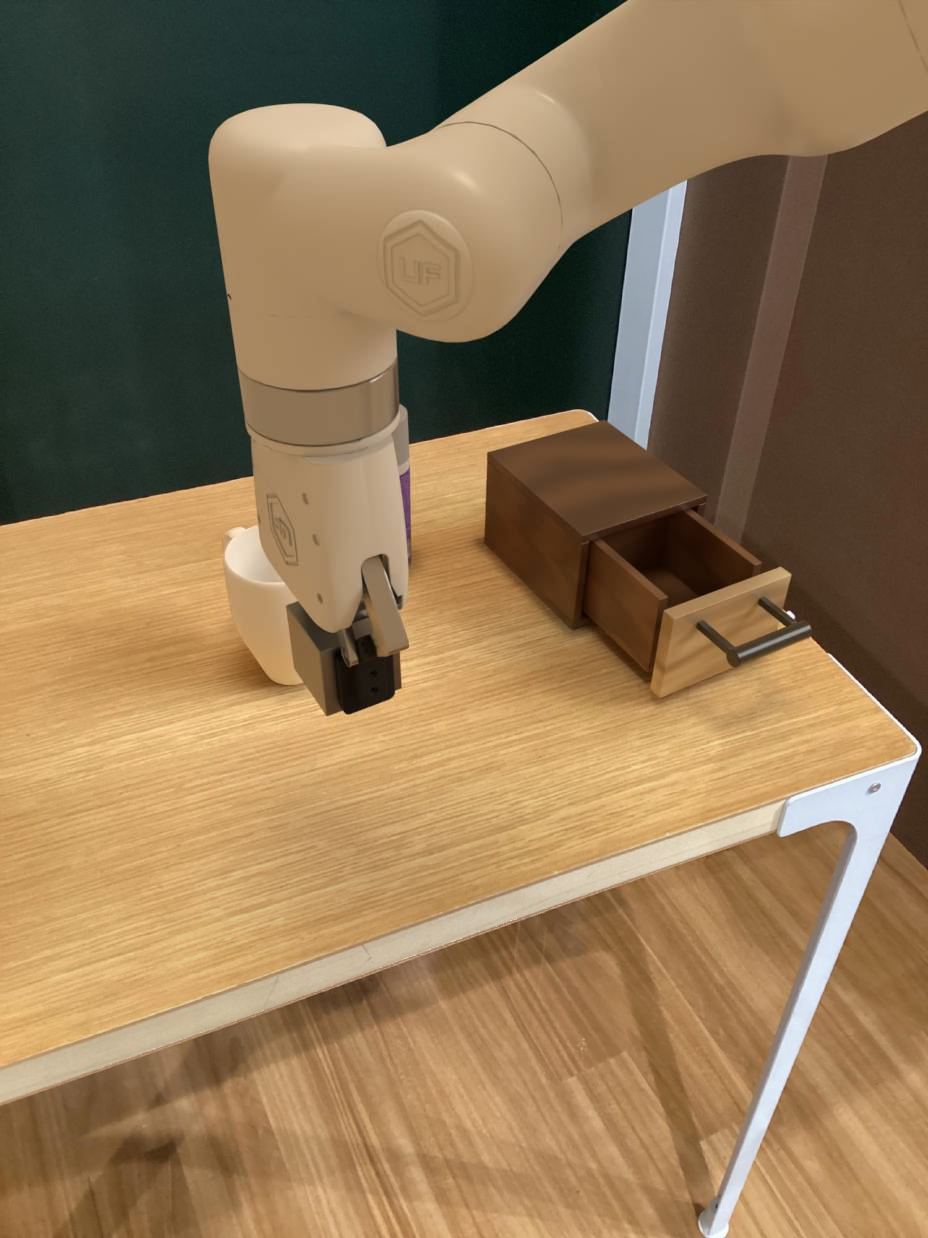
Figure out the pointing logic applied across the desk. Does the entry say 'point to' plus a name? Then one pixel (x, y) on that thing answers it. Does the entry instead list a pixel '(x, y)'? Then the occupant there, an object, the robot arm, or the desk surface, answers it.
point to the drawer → (686, 600)
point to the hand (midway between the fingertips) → (347, 673)
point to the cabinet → (574, 505)
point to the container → (404, 470)
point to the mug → (259, 603)
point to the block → (323, 656)
